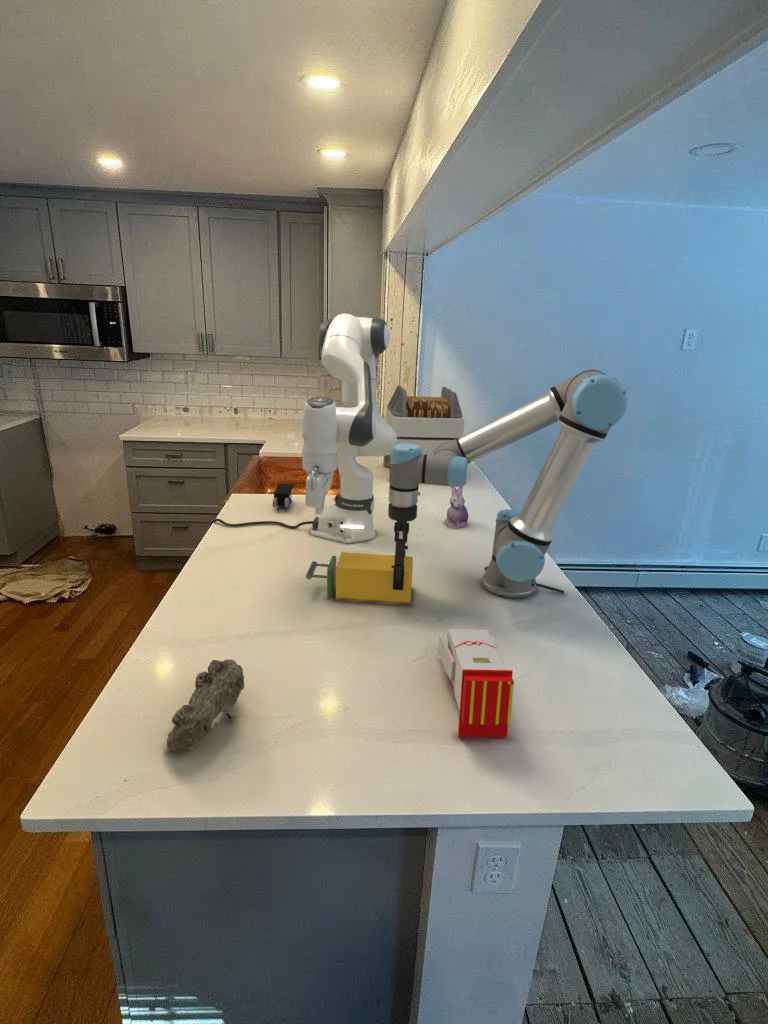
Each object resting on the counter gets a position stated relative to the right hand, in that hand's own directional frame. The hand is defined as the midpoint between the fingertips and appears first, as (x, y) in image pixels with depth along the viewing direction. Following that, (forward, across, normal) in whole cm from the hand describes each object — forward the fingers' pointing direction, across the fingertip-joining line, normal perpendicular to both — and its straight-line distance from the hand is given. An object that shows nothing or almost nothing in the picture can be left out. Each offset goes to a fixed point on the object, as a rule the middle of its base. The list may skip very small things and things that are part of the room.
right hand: (398, 580), depth 155 cm
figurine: (+5, +59, -19) cm, 62 cm away
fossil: (+5, -54, +33) cm, 63 cm away
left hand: (-18, 0, +22) cm, 29 cm away
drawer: (+4, 0, +13) cm, 13 cm away
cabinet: (+5, 0, +6) cm, 8 cm away
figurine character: (+5, +66, +48) cm, 82 cm away
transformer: (+5, +126, -5) cm, 126 cm away
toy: (+5, -40, -17) cm, 43 cm away
